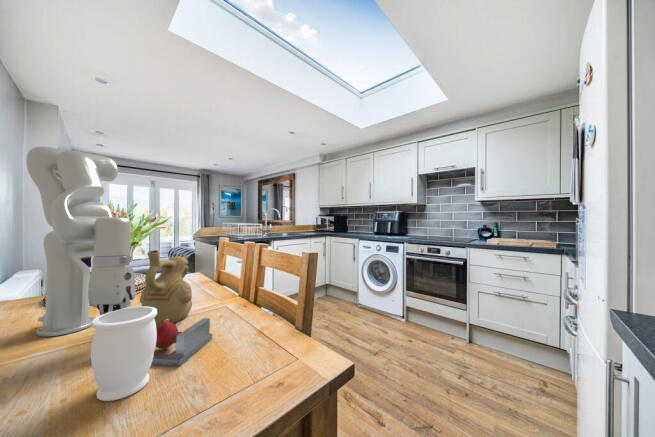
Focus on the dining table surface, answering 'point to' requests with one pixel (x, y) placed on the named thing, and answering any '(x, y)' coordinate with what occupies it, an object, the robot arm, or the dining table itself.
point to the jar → (123, 351)
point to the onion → (166, 335)
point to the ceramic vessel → (167, 288)
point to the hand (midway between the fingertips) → (110, 328)
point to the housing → (186, 344)
